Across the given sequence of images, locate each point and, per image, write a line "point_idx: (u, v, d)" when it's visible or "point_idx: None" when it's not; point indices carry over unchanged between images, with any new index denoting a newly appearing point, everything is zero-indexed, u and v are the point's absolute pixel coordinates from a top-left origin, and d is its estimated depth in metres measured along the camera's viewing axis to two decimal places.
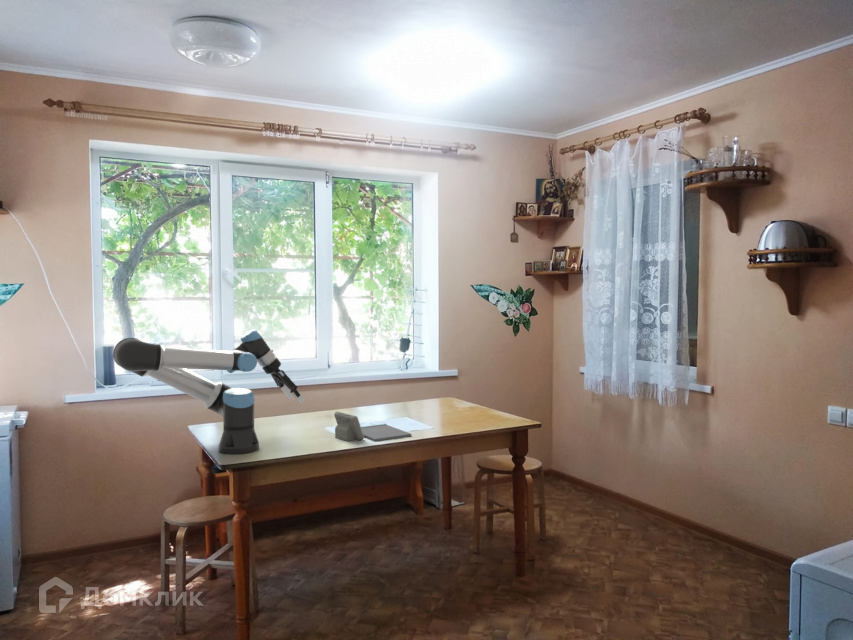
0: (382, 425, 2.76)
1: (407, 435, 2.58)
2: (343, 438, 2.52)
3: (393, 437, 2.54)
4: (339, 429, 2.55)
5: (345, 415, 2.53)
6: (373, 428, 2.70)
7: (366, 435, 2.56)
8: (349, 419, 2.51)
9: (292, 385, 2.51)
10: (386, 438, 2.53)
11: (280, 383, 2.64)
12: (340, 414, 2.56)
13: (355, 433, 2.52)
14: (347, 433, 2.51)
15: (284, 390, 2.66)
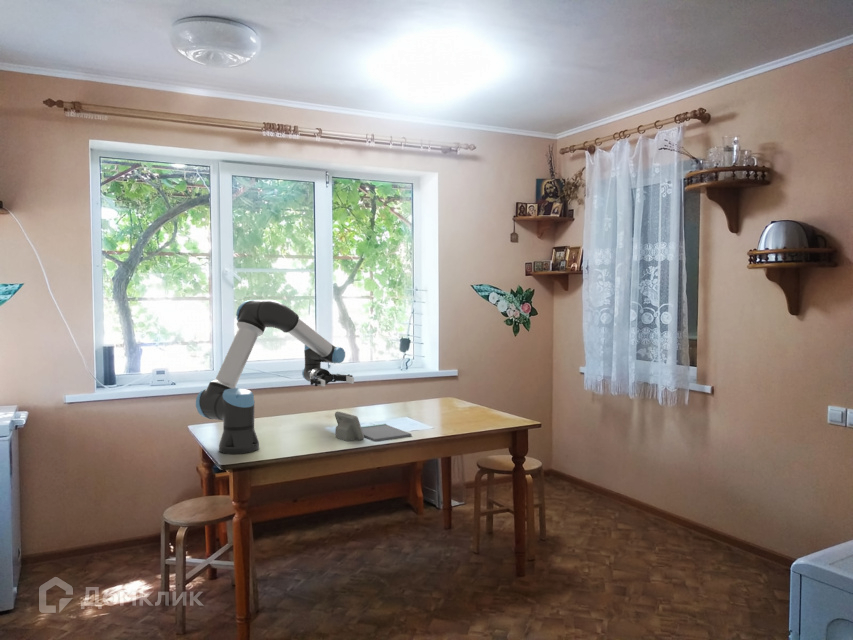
0: (382, 425, 2.76)
1: (407, 435, 2.58)
2: (343, 438, 2.52)
3: (393, 437, 2.54)
4: (339, 429, 2.55)
5: (345, 415, 2.53)
6: (373, 428, 2.70)
7: (366, 435, 2.56)
8: (349, 419, 2.51)
9: None
10: (386, 438, 2.53)
11: None
12: (340, 414, 2.56)
13: (355, 433, 2.52)
14: (348, 433, 2.51)
15: None
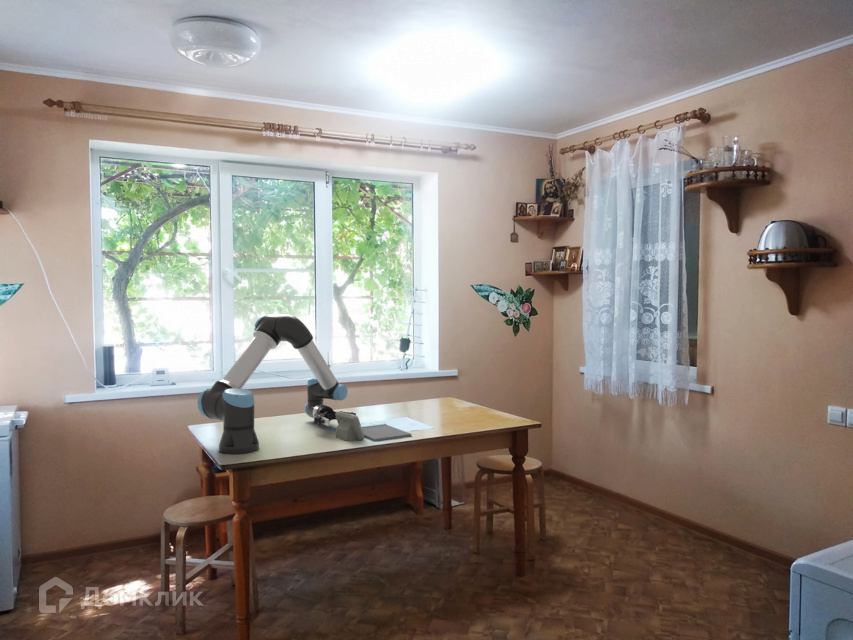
0: (382, 425, 2.76)
1: (407, 435, 2.58)
2: (344, 438, 2.52)
3: (393, 437, 2.54)
4: (339, 429, 2.55)
5: (346, 415, 2.53)
6: (373, 428, 2.70)
7: (366, 435, 2.56)
8: (350, 419, 2.51)
9: None
10: (386, 438, 2.53)
11: None
12: (341, 414, 2.56)
13: (356, 433, 2.52)
14: (348, 433, 2.51)
15: None
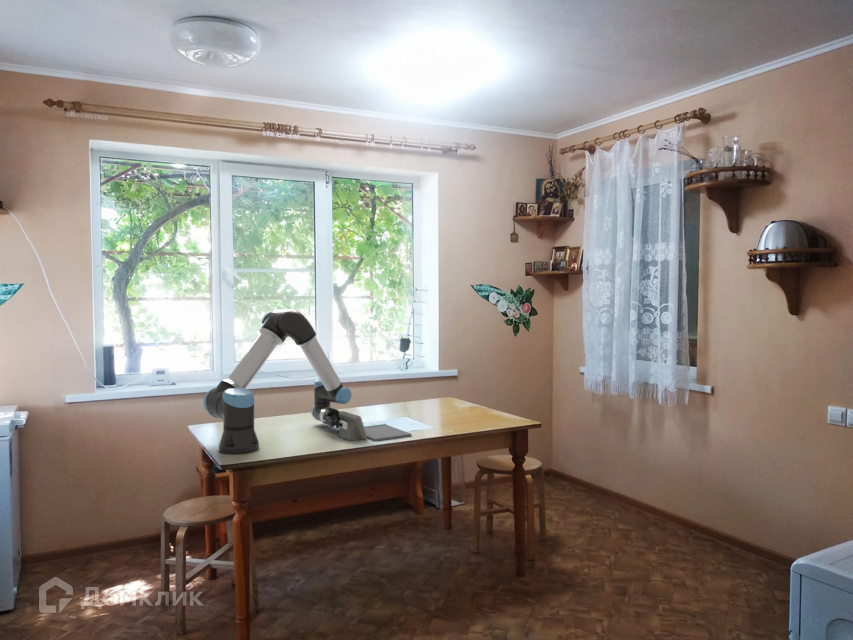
0: (382, 425, 2.76)
1: (407, 435, 2.58)
2: (346, 438, 2.52)
3: (393, 437, 2.54)
4: (342, 428, 2.55)
5: (349, 415, 2.54)
6: (373, 428, 2.70)
7: None
8: (352, 419, 2.51)
9: None
10: (386, 438, 2.53)
11: None
12: (344, 414, 2.57)
13: (358, 433, 2.52)
14: (351, 432, 2.51)
15: None
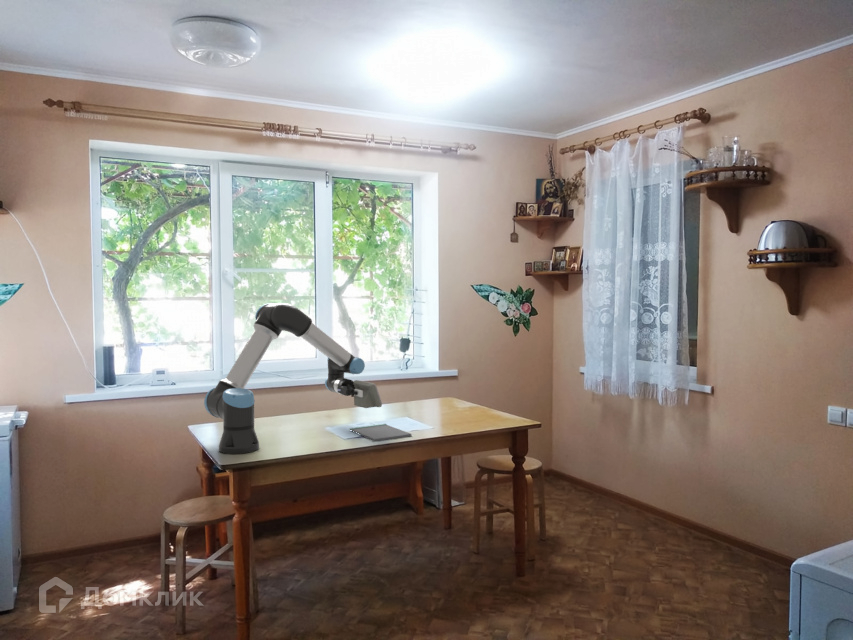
0: (382, 425, 2.76)
1: (407, 435, 2.58)
2: (362, 405, 2.56)
3: (393, 437, 2.54)
4: (357, 396, 2.59)
5: (364, 383, 2.58)
6: (373, 428, 2.70)
7: (366, 435, 2.56)
8: (367, 387, 2.55)
9: None
10: (386, 438, 2.53)
11: None
12: (359, 382, 2.61)
13: (373, 400, 2.56)
14: (366, 400, 2.55)
15: None
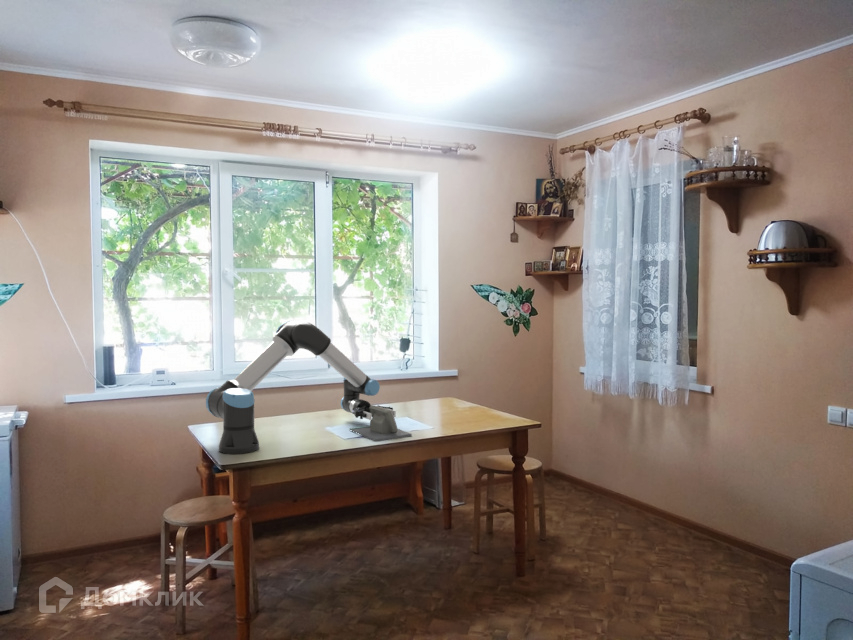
0: None
1: (407, 435, 2.58)
2: (378, 431, 2.61)
3: (393, 437, 2.54)
4: (374, 422, 2.63)
5: (380, 409, 2.62)
6: None
7: (366, 435, 2.56)
8: (384, 412, 2.59)
9: None
10: (386, 438, 2.53)
11: None
12: (375, 408, 2.65)
13: (389, 426, 2.60)
14: (382, 426, 2.59)
15: None
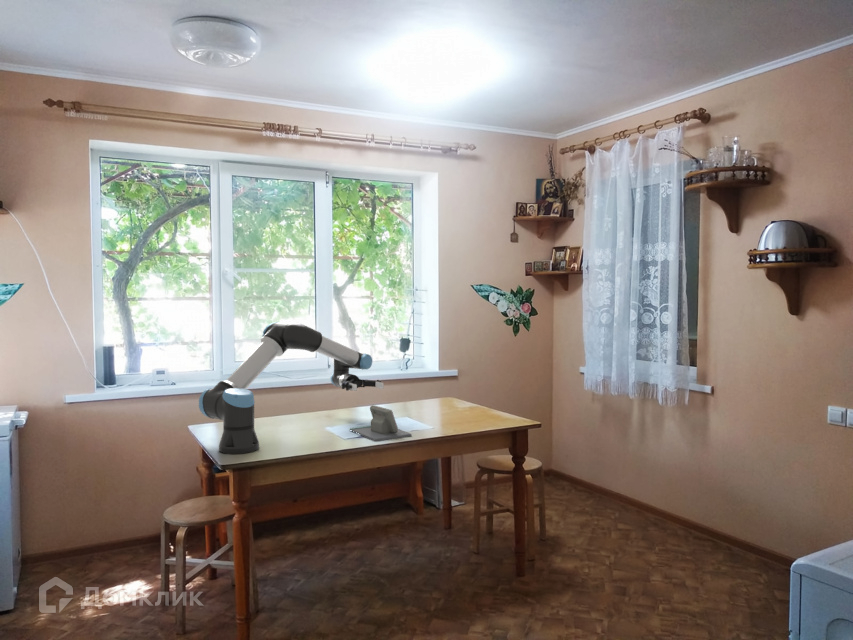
0: None
1: (407, 435, 2.58)
2: (378, 431, 2.61)
3: (393, 437, 2.54)
4: (374, 422, 2.63)
5: (380, 409, 2.62)
6: None
7: (366, 435, 2.56)
8: (384, 412, 2.59)
9: None
10: (386, 438, 2.53)
11: None
12: (375, 408, 2.65)
13: (390, 426, 2.60)
14: (382, 426, 2.59)
15: None
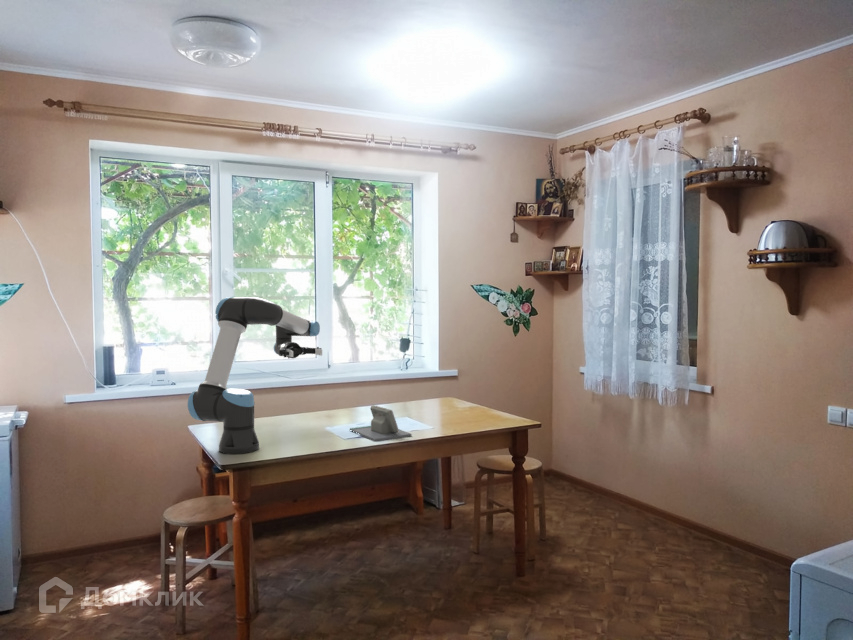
0: None
1: (407, 435, 2.58)
2: (378, 431, 2.61)
3: (393, 437, 2.54)
4: (374, 422, 2.63)
5: (380, 409, 2.62)
6: None
7: (366, 435, 2.56)
8: (384, 413, 2.59)
9: None
10: (386, 438, 2.53)
11: None
12: (376, 408, 2.65)
13: (390, 426, 2.60)
14: (383, 426, 2.59)
15: None
